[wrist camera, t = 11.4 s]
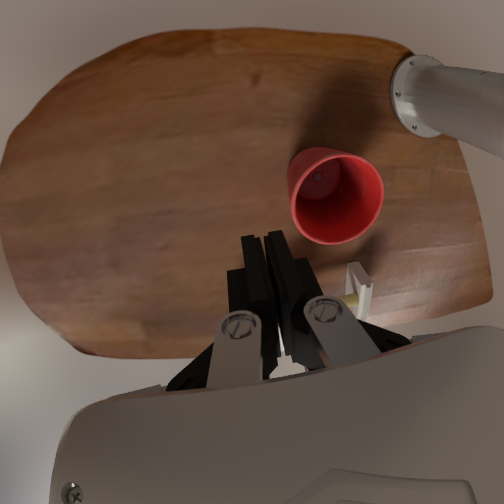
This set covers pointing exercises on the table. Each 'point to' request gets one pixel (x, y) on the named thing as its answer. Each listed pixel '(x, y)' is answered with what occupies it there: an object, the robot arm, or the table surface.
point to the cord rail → (357, 290)
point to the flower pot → (333, 194)
